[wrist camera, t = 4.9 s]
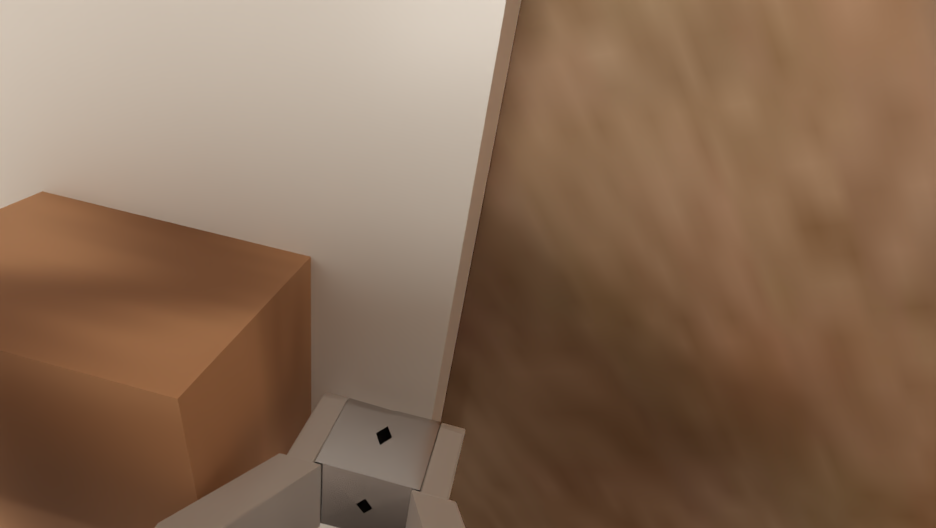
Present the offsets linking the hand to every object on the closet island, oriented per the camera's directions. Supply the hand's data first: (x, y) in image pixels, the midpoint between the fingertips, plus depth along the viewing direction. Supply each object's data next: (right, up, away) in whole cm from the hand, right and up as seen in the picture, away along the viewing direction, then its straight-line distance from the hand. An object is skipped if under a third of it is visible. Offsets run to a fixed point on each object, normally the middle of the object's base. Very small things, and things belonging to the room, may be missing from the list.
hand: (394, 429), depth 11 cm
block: (-5, +2, +1) cm, 6 cm away
